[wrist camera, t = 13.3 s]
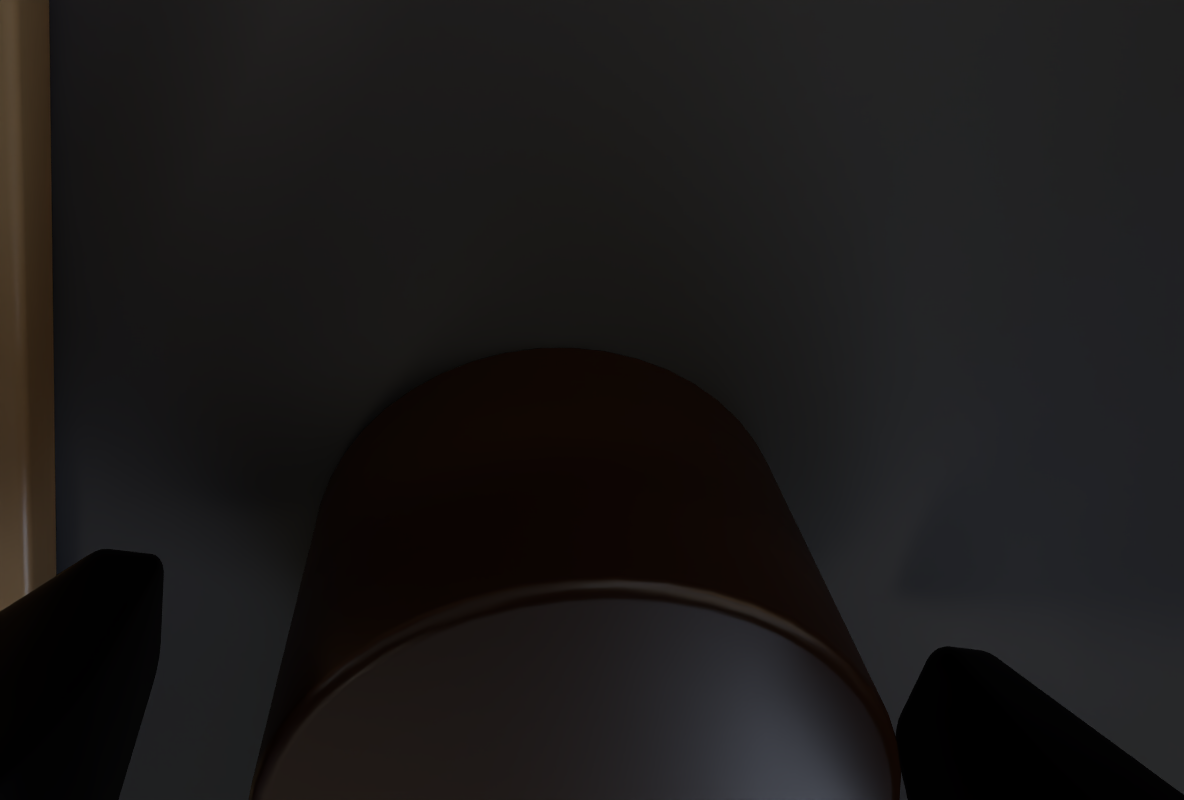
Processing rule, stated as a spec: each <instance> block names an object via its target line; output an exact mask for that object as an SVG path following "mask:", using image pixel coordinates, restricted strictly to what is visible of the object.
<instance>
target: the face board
mask: <svg viewBox="0 0 1184 800" xmlns="http://www.w3.org/2000/svg"><path fill="white" fill-rule="evenodd" d="M55 576H56V510H55V431H54V352H53V274H52V195H51V117H50V38H49V0H0V611H1V610H3V609H5V608H6V607H8V606H9V605H11V604H12V603H14V602H16V601H17V600H19V599H20V598H22V597H23V596H25V595H27V594H28V593H30V592H31V591H33V590H34V589H36V588H38V587H39V586H41V585H42V584H44V583H45V582H47V581H49V580H50V579H52V578H53V577H55Z"/></svg>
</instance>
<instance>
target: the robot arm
mask: <svg viewBox="0 0 1184 800" xmlns="http://www.w3.org/2000/svg"><path fill="white" fill-rule="evenodd" d="M163 578H164V570H163V564H162V562H161V560H160V559H159V558H158V557H157V556H156V555H153V554H147V553H138V552H130V551H121V550H113V549H101V550H98V551H95V552H93V553H91V554H89V555H88V556H86V557H85V558H83V559H82V560H80V561H78V562H77V563H75V564H74V565H72V566H71V567H69V568H67V569H66V570H64V571H63V572H61V573H60V574H58V575H56V576H55V577H53V578H52V579H50V580H49V581H47V582H45V583H44V584H42V585H41V586H39V587H38V588H36V589H34V590H33V591H31V592H30V593H28V594H27V595H25V596H23V597H22V598H20V599H19V600H17V601H16V602H14V603H12V604H11V605H9V606H8V607H6V608H5V609H3V610H1V611H0V800H118V799H119V796H120V792H121V789H122V786H123V782H124V779H125V776H126V772H127V769H128V766H129V762H130V759H131V756H132V752H133V749H134V746H135V742H136V739H137V736H138V732H139V729H140V725H141V722H142V719H143V715H144V712H145V709H146V705H147V702H148V699H149V695H150V692H151V689H152V685H153V682H154V678H155V675H156V670H157V666H158V660H159V654H160V644H161V623H162V600H163ZM896 739H897V743H898V751H899V759H900V767H901V772H902V776H903V781H904V785H905V789H906V794H907V798H908V800H1184V795H1183V794H1182V793H1180V792H1179V791H1178V790H1176V789H1175V788H1174V787H1172V786H1171V785H1169V784H1168V783H1167V782H1165V781H1164V780H1163V779H1161V778H1160V777H1159V776H1157V775H1156V774H1154V773H1153V772H1152V771H1150V770H1149V769H1148V768H1146V767H1145V766H1144V765H1142V764H1141V763H1140V762H1138V761H1137V760H1135V759H1134V758H1133V757H1131V756H1130V755H1129V754H1127V753H1126V752H1125V751H1123V750H1122V749H1120V748H1119V747H1118V746H1116V745H1115V744H1114V743H1112V742H1111V741H1110V740H1108V739H1107V738H1105V737H1104V736H1103V735H1101V734H1100V733H1099V732H1097V731H1096V730H1095V729H1093V728H1092V727H1091V726H1089V725H1088V724H1086V723H1085V722H1084V721H1082V720H1081V719H1080V718H1078V717H1077V716H1076V715H1074V714H1073V713H1071V712H1070V711H1069V710H1067V709H1066V708H1065V707H1063V706H1062V705H1061V704H1059V703H1058V702H1056V701H1055V700H1054V699H1052V698H1051V697H1050V696H1048V695H1047V694H1046V693H1044V692H1043V691H1042V690H1040V689H1039V688H1037V687H1036V686H1035V685H1033V684H1032V683H1031V682H1029V681H1028V680H1027V679H1025V678H1024V677H1022V676H1021V675H1020V674H1018V673H1017V672H1016V671H1014V670H1013V669H1012V668H1010V667H1009V666H1007V665H1006V664H1005V663H1003V662H1002V661H1001V660H999V659H998V658H997V657H995V656H994V655H992V654H990V653H988V652H985V651H981V650H974V649H965V648H957V647H948V646H947V647H942V648H938V649H937V650H935V651H934V652H933V653H932V654H931V655H930V656H929V658H928V659H927V661H926V663H925V665H924V667H923V670H922V672H921V674H920V676H919V678H918V680H917V682H916V684H915V686H914V688H913V690H912V692H911V694H910V696H909V698H908V701H907V703H906V705H905V707H904V709H903V711H902V713H901V715H900V718H899V720H898V724H897V729H896Z"/></svg>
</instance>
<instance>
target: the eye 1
mask: <svg viewBox="0 0 1184 800" xmlns="http://www.w3.org/2000/svg"><path fill="white" fill-rule="evenodd" d="M900 782H901V767H900V759H899V751H898V743H897V739H896V736H895V733H894V730H893V727H892V724H891V721H890V718H889V715H888V712H887V710H886V708H885V706H884V704H883V702H882V700H881V698H880V696H879V694H878V692H877V689H876V687H875V685H874V683H873V681H872V679H871V677H870V675H869V673H868V671H867V669H866V667H865V665H864V663H863V661H862V658H861V656H860V654H859V652H858V650H857V648H856V646H855V644H854V642H853V640H852V638H851V636H850V634H849V632H848V630H847V627H846V625H845V623H844V621H843V619H842V617H841V615H840V613H839V611H838V609H837V607H836V605H835V603H834V601H833V598H832V596H831V594H830V592H829V590H828V588H827V586H826V584H825V582H824V580H823V578H822V576H821V574H820V572H819V570H818V567H817V565H816V563H815V561H814V559H813V557H812V555H811V553H810V551H809V549H808V547H807V545H806V543H805V541H804V538H803V536H802V534H801V532H800V530H799V528H798V526H797V524H796V522H795V520H794V518H793V516H792V514H791V512H790V510H789V507H788V505H787V503H786V501H785V499H784V497H783V495H782V493H781V491H780V489H779V487H778V485H777V483H776V481H775V478H774V476H773V474H772V472H771V470H770V468H769V466H768V464H767V462H766V460H765V459H764V457H763V455H762V453H761V451H760V449H759V448H758V446H757V444H756V442H755V441H754V440H753V438H752V437H751V436H750V434H749V433H748V432H747V430H746V429H745V428H744V427H743V425H742V424H741V423H740V421H739V420H738V419H737V418H736V417H735V416H734V415H732V414H731V413H730V412H729V411H728V410H727V409H726V408H725V407H724V406H723V405H722V404H721V403H720V402H719V401H718V400H716V399H715V398H713V397H712V396H711V395H709V394H708V393H706V392H705V391H704V390H702V389H701V388H699V387H698V386H697V385H695V384H694V383H692V382H690V381H688V380H686V379H684V378H682V377H680V376H678V375H676V374H675V373H673V372H671V371H669V370H666V369H664V368H661V367H658V366H656V365H653V364H650V363H647V362H645V361H642V360H639V359H636V358H632V357H627V356H623V355H619V354H614V353H610V352H606V351H597V350H588V349H578V348H537V349H530V350H523V351H515V352H508V353H503V354H499V355H495V356H491V357H487V358H484V359H480V360H476V361H472V362H470V363H467V364H465V365H462V366H460V367H457V368H455V369H452V370H449V371H447V372H444V373H442V374H440V375H438V376H436V377H434V378H433V379H431V380H429V381H427V382H425V383H423V384H422V385H420V386H418V387H416V388H414V389H412V390H411V391H409V392H408V393H407V394H405V395H404V396H402V397H401V398H400V399H398V400H397V401H396V402H394V403H393V404H391V405H390V406H389V407H387V408H386V409H385V410H384V411H383V412H382V413H381V414H379V415H378V416H377V417H376V418H375V419H374V420H373V421H372V422H371V423H370V424H369V425H368V426H367V427H366V428H365V429H364V430H363V431H362V432H361V433H360V435H359V436H358V437H357V438H356V440H355V441H354V442H353V443H352V445H351V446H350V447H349V449H348V450H347V451H346V452H345V454H344V455H343V457H342V459H341V461H340V462H339V464H338V466H337V468H336V469H335V471H334V473H333V475H332V476H331V478H330V481H329V483H328V486H327V488H326V491H325V494H324V496H323V499H322V501H321V504H320V508H319V512H318V516H317V520H316V524H315V528H314V532H313V537H312V541H311V545H310V549H309V553H308V557H307V561H306V565H305V569H304V573H303V577H302V581H301V585H300V589H299V593H298V597H297V602H296V606H295V610H294V614H293V618H292V622H291V626H290V630H289V634H288V638H287V642H286V646H285V650H284V654H283V658H282V662H281V666H280V671H279V675H278V679H277V683H276V687H275V691H274V695H273V699H272V703H271V707H270V711H269V715H268V719H267V723H266V727H265V731H264V736H263V740H262V744H261V748H260V752H259V756H258V760H257V764H256V768H255V772H254V776H253V780H252V785H251V790H250V795H249V800H899V798H900Z"/></svg>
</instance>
